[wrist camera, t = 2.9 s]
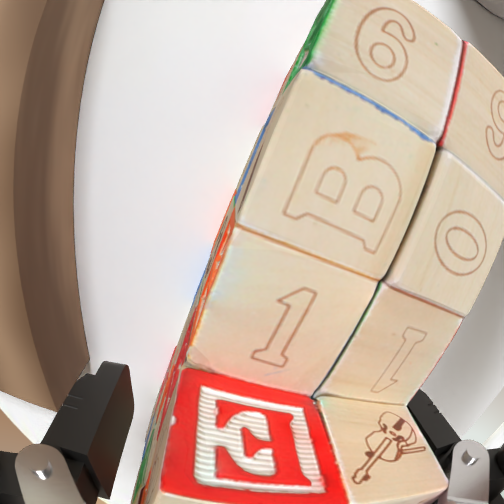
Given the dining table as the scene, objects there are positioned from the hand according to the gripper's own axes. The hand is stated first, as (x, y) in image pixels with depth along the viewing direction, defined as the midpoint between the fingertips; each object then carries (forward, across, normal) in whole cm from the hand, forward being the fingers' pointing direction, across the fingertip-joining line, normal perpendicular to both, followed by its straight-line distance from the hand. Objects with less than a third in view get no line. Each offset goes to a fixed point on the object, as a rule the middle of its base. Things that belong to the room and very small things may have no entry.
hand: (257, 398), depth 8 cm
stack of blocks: (+8, -1, 0) cm, 8 cm away
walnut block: (+7, +15, -7) cm, 18 cm away
